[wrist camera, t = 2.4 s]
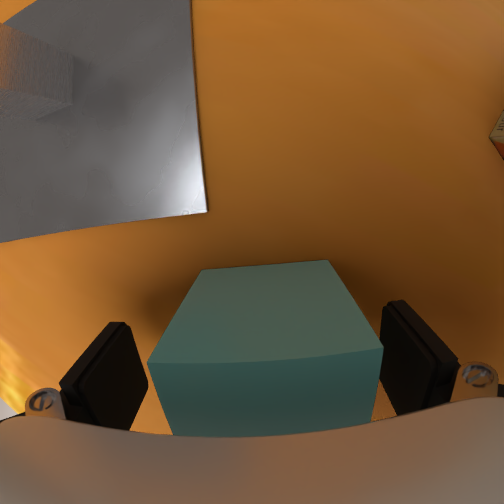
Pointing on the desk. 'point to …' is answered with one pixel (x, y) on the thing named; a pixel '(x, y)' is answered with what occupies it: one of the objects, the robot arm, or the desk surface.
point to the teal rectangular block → (267, 354)
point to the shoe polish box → (498, 135)
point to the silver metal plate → (98, 116)
